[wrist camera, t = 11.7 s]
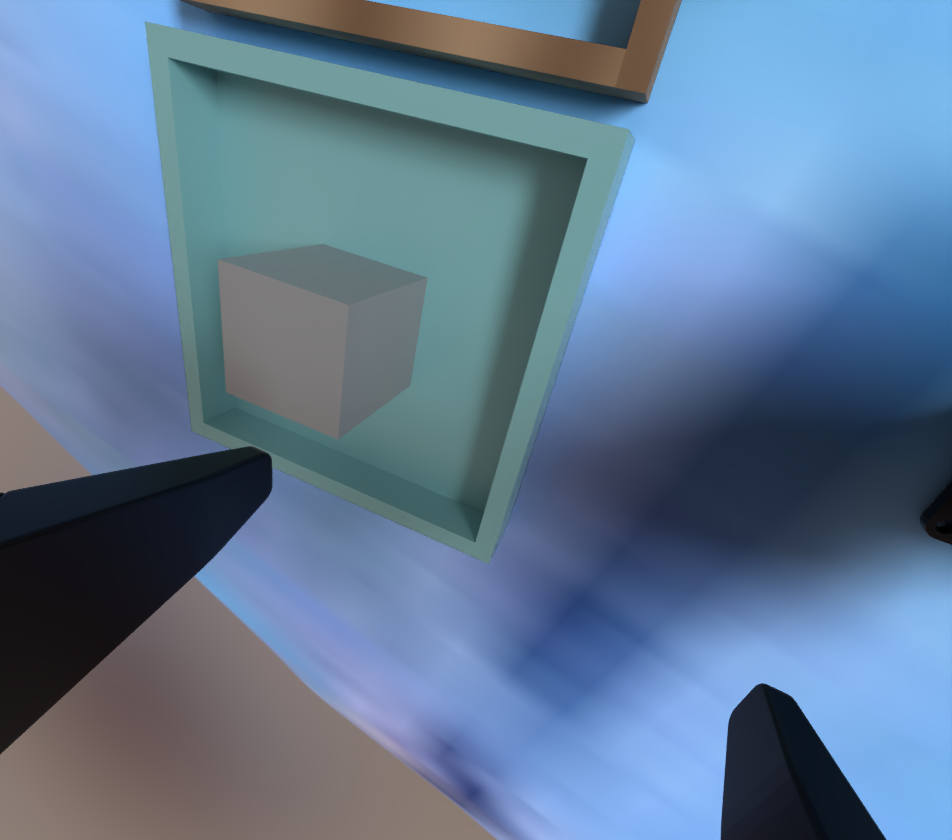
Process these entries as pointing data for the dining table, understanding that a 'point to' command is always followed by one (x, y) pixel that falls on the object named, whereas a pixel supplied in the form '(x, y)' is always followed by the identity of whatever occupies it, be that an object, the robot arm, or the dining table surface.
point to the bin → (387, 259)
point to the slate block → (318, 333)
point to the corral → (480, 40)
